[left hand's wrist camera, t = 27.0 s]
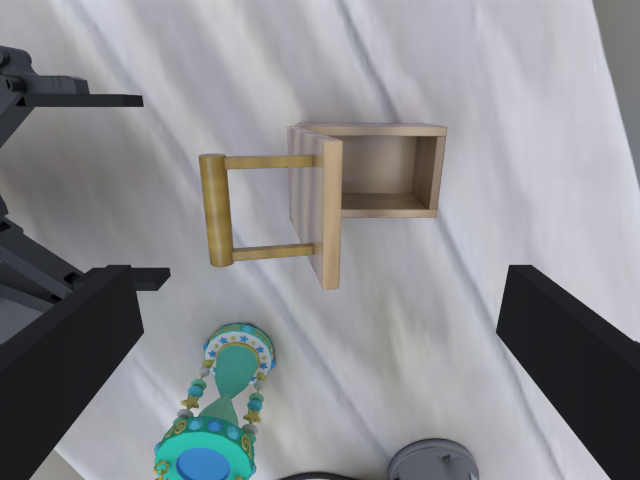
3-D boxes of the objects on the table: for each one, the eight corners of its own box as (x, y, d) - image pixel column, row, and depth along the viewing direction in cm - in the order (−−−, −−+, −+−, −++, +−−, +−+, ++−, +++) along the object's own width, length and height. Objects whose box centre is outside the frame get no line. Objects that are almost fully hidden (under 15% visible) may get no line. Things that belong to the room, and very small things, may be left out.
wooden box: (423, 123, 43) (447, 126, 35) (416, 198, 47) (436, 217, 38) (298, 122, 43) (293, 126, 35) (299, 198, 47) (295, 217, 38)
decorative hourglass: (198, 370, 56) (75, 638, 28) (212, 312, 52) (87, 551, 24) (267, 387, 57) (215, 660, 29) (285, 331, 53) (246, 581, 25)
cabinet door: (343, 140, 20) (189, 142, 18) (339, 288, 23) (208, 302, 22) (298, 126, 35) (210, 127, 33) (300, 218, 38) (220, 223, 36)
